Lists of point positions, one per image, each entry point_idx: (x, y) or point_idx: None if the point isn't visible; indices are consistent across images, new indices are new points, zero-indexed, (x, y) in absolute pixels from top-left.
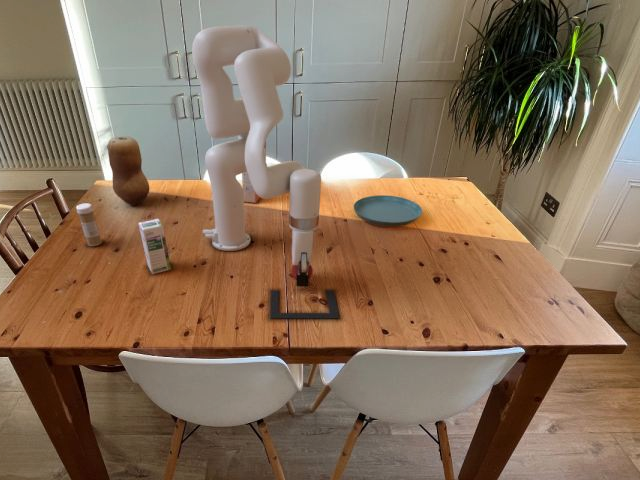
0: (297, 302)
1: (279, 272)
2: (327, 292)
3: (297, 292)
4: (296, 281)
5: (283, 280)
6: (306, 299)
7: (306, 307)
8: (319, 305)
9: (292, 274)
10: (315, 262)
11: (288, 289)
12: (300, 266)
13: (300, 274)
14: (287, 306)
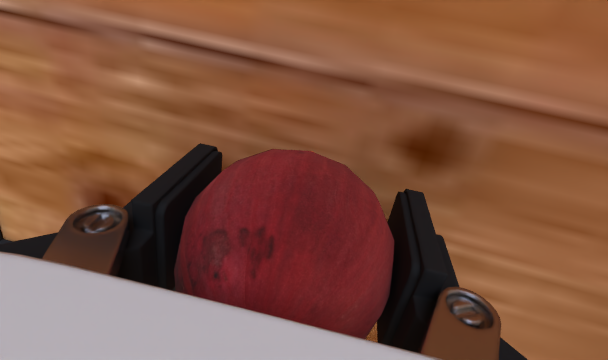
0: (72, 100)
1: (527, 45)
2: (173, 290)
3: (187, 129)
4: (182, 159)
5: (370, 56)
6: (111, 165)
7: (31, 142)
8: (64, 215)
9: (262, 154)
10: (539, 342)
11: (228, 71)
12: (187, 291)
13: (49, 238)
14: (13, 13)
